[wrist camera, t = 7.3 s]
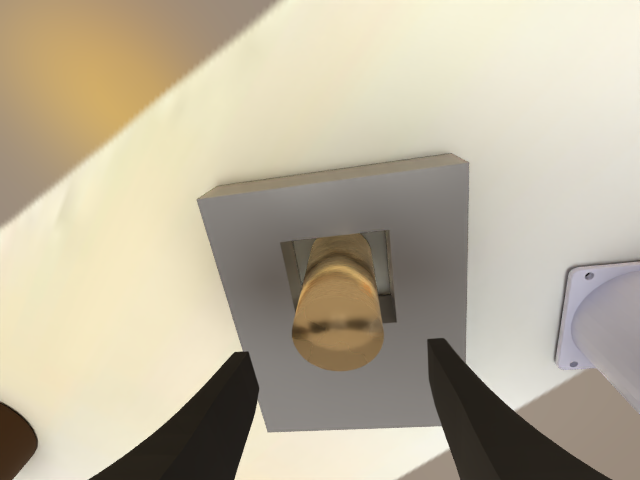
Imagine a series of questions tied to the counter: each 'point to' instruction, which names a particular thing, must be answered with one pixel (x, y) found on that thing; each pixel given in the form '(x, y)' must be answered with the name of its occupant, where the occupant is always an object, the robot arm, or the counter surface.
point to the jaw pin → (339, 305)
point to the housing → (396, 309)
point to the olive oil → (14, 443)
